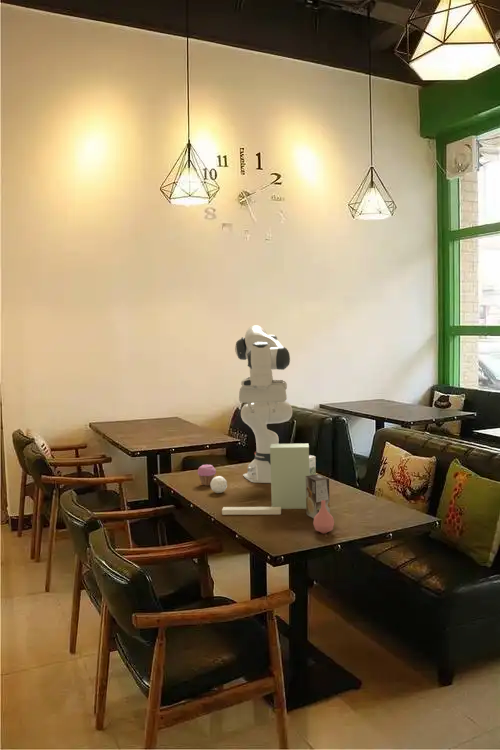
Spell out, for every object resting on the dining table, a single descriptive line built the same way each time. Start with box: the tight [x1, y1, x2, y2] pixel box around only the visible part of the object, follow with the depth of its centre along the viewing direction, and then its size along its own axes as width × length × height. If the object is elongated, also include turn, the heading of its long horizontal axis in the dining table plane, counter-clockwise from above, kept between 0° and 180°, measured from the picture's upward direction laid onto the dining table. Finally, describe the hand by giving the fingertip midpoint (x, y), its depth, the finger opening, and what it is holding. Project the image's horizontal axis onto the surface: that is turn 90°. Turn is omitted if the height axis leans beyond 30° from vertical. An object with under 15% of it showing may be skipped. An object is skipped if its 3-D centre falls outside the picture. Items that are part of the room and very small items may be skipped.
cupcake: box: [197, 463, 217, 486], centre depth 316 cm, size 9×9×10 cm
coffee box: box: [305, 473, 331, 519], centre depth 261 cm, size 9×6×16 cm
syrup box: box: [309, 454, 317, 476], centre depth 307 cm, size 6×6×14 cm
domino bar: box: [221, 506, 282, 516], centre depth 268 cm, size 24×4×2 cm, turn 86°
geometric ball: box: [209, 475, 228, 494], centre depth 301 cm, size 8×8×8 cm
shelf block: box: [270, 443, 310, 510], centre depth 276 cm, size 16×8×26 cm, turn 86°
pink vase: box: [312, 500, 335, 534], centre depth 241 cm, size 8×8×12 cm
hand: (263, 412), depth 279 cm, fingers open, 8 cm apart
